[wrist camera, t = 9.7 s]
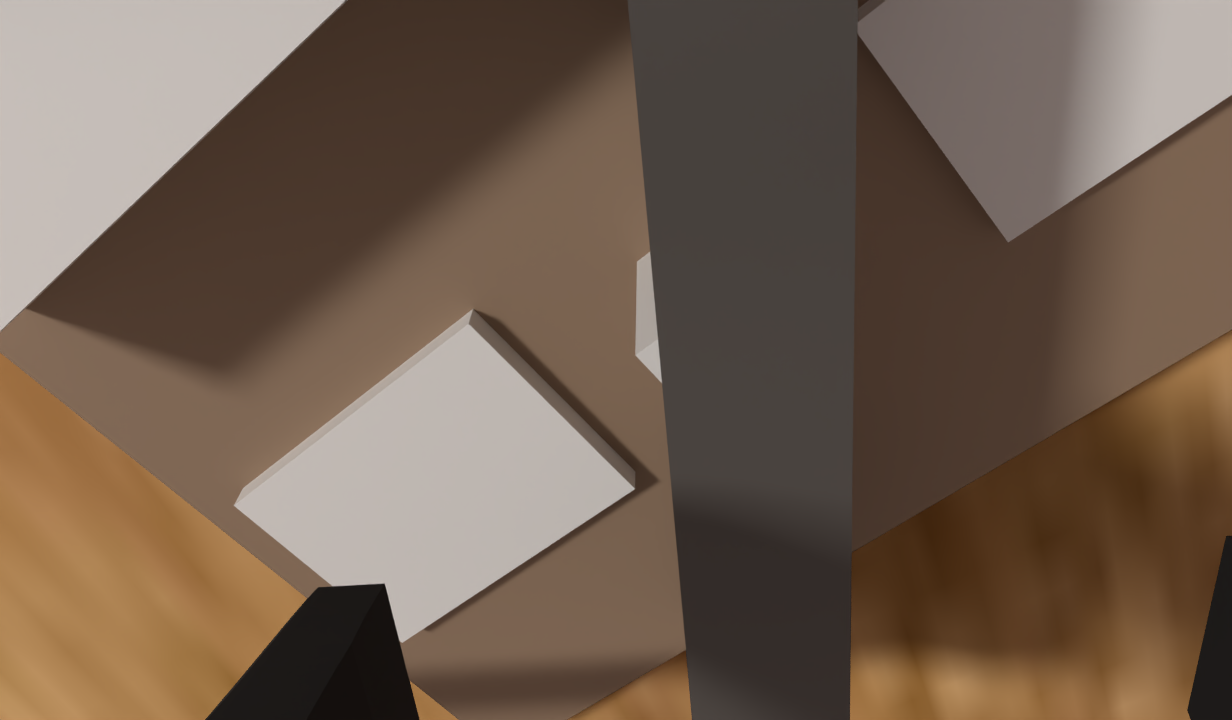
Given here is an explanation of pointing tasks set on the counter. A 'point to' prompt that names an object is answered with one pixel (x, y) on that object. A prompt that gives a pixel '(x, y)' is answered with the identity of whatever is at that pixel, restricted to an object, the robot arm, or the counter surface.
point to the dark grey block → (755, 337)
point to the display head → (565, 283)
